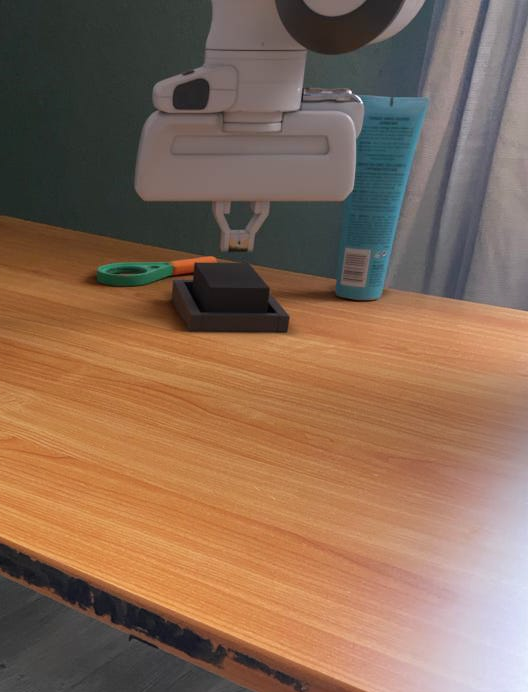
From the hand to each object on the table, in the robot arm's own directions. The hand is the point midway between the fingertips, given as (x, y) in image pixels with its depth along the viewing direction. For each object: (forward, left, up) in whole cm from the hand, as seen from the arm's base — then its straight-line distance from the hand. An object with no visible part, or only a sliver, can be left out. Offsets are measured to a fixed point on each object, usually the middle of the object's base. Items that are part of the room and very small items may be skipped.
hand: (236, 251), depth 96 cm
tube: (-16, -10, -7) cm, 20 cm away
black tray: (0, 0, -6) cm, 6 cm away
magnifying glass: (+5, -18, -7) cm, 20 cm away
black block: (0, 0, -6) cm, 6 cm away
